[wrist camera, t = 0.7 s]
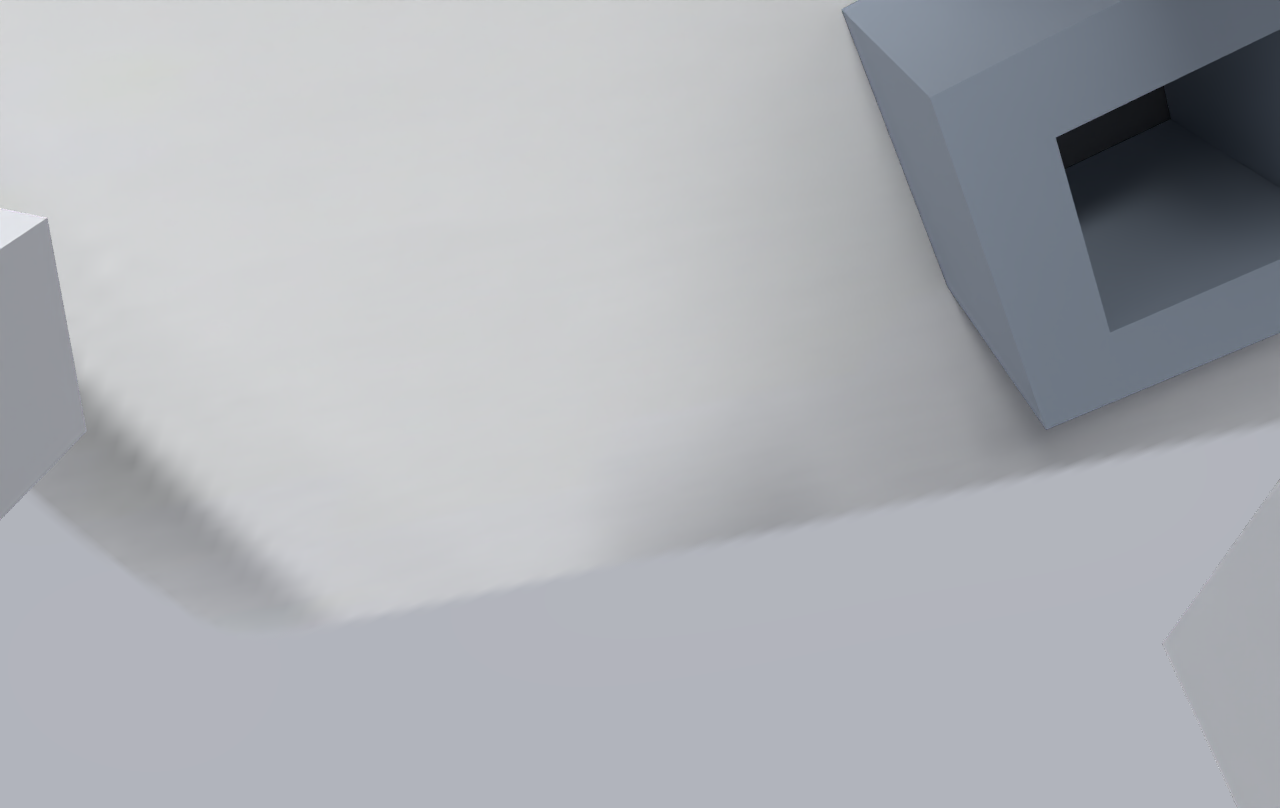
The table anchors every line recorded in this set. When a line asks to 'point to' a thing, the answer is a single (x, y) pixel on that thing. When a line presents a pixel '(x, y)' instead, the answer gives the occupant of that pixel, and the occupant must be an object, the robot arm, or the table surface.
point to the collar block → (1090, 179)
